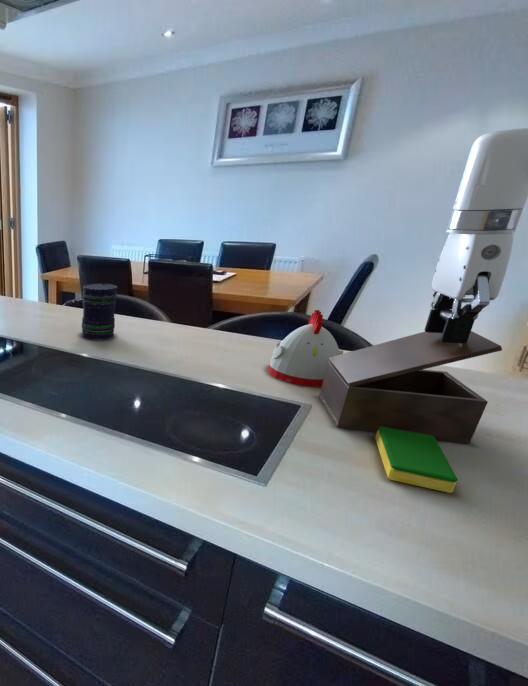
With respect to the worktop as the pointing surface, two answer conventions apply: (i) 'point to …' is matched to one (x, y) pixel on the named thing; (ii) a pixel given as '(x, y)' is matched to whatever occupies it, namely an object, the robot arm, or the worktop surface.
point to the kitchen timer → (304, 354)
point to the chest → (405, 404)
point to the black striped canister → (98, 311)
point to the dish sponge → (415, 459)
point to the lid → (408, 355)
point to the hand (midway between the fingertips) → (444, 336)
